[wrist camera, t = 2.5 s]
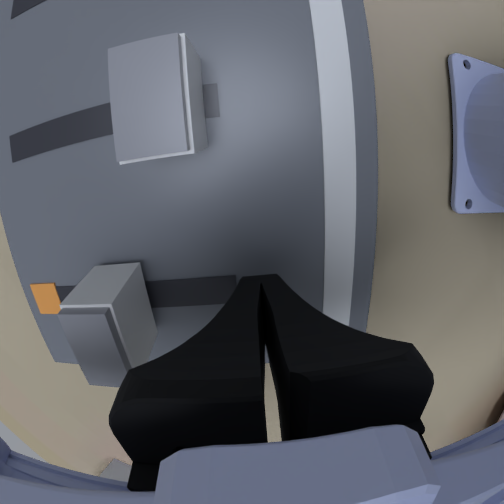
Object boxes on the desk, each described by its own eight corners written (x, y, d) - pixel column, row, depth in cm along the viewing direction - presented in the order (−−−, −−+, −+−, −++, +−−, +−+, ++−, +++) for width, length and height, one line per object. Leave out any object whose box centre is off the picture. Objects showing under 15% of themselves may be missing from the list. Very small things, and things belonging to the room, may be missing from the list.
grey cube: (114, 457, 21) (99, 511, 15) (174, 480, 22) (167, 533, 17) (100, 473, 23) (87, 519, 17) (152, 494, 24) (145, 539, 18)
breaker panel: (323, -88, 7) (352, -147, 2) (351, 327, 15) (386, 402, 10) (22, -26, 7) (-35, -51, 2) (69, 340, 15) (29, 404, 10)
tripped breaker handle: (139, 262, 11) (106, 311, 8) (157, 332, 12) (137, 390, 9) (94, 266, 11) (53, 311, 8) (115, 332, 12) (88, 386, 9)
